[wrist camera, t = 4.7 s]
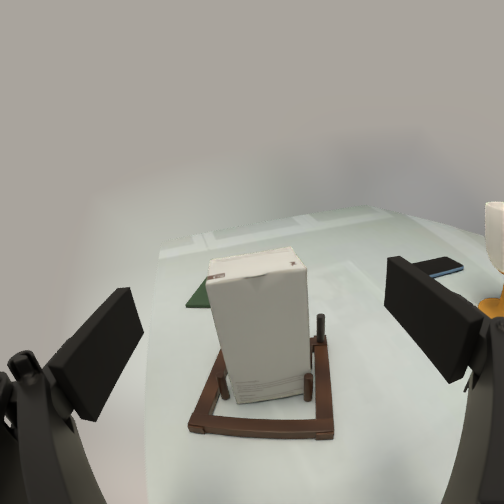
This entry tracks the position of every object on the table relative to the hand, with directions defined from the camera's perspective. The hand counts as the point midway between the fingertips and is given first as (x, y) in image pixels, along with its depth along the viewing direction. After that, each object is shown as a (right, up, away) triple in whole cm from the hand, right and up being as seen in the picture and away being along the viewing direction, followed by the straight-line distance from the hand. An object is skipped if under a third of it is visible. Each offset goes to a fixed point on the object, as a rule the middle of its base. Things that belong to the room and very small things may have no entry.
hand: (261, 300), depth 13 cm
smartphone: (+38, -2, +36) cm, 53 cm away
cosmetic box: (+2, -13, +15) cm, 20 cm away
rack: (+1, -12, +15) cm, 20 cm away
